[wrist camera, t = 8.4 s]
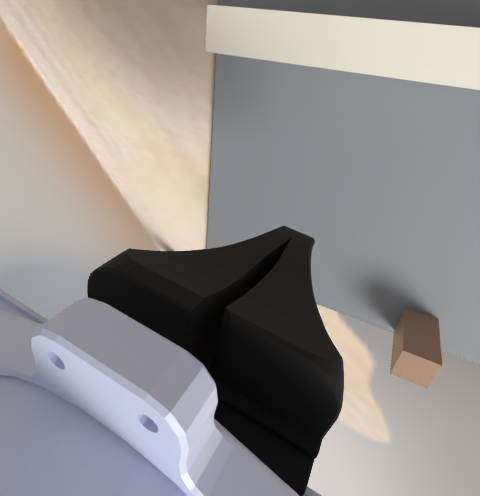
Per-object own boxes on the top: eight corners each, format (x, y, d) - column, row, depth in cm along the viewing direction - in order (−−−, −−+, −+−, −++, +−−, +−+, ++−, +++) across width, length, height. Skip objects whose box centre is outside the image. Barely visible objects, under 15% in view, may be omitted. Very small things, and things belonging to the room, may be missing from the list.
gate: (591, 51, 12) (677, 44, 8) (564, 96, 13) (630, 111, 9) (259, 19, 17) (207, 4, 13) (255, 54, 18) (205, 51, 14)
